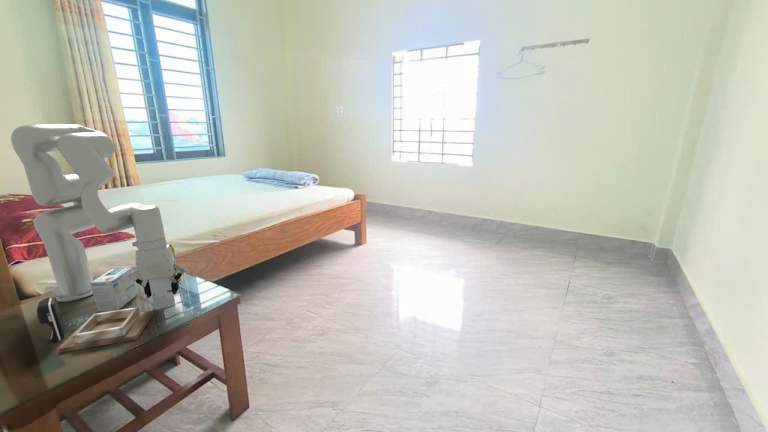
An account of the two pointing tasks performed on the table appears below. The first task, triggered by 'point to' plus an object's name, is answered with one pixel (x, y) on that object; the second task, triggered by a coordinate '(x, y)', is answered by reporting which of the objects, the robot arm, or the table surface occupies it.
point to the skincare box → (162, 293)
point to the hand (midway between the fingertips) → (162, 293)
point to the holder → (108, 329)
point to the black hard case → (51, 318)
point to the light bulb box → (113, 289)
